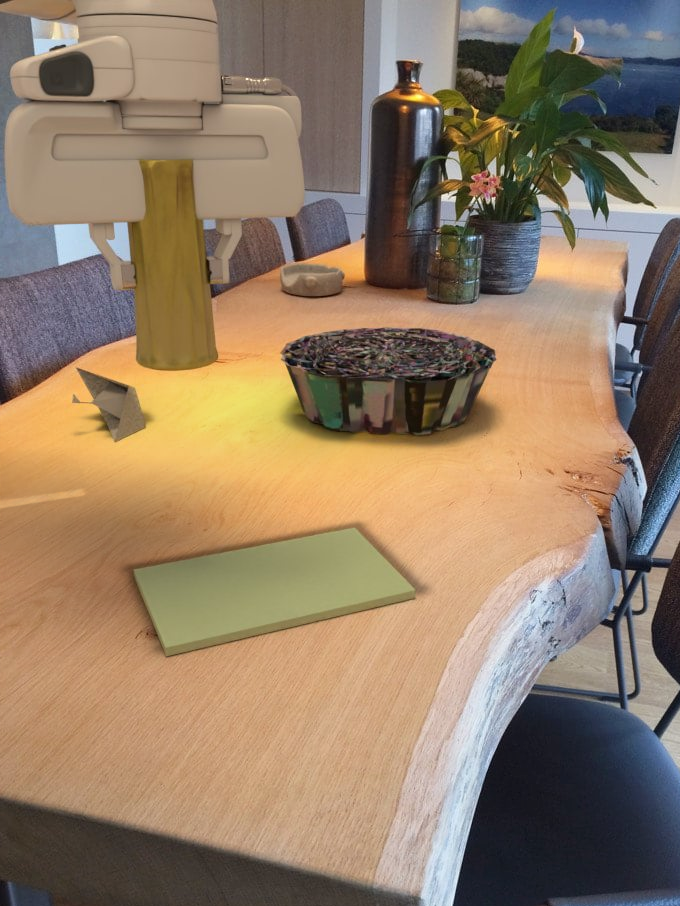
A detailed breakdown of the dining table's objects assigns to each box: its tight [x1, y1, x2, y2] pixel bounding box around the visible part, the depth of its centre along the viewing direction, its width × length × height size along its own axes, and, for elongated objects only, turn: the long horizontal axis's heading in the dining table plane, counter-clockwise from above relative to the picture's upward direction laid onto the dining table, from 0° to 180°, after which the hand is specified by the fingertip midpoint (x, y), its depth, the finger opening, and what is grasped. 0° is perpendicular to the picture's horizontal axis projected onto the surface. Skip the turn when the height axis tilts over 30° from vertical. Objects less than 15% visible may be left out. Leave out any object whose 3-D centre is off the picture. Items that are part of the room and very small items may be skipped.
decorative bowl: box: [279, 326, 497, 437], centre depth 106 cm, size 26×28×10 cm
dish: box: [279, 262, 346, 297], centre depth 178 cm, size 14×14×5 cm
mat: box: [133, 527, 417, 657], centre depth 67 cm, size 20×12×1 cm, turn 115°
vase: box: [126, 159, 219, 372], centre depth 60 cm, size 6×6×14 cm
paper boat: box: [71, 366, 146, 443], centre depth 99 cm, size 12×6×9 cm
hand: (171, 285), depth 61 cm, fingers closed on vase, 5 cm apart
